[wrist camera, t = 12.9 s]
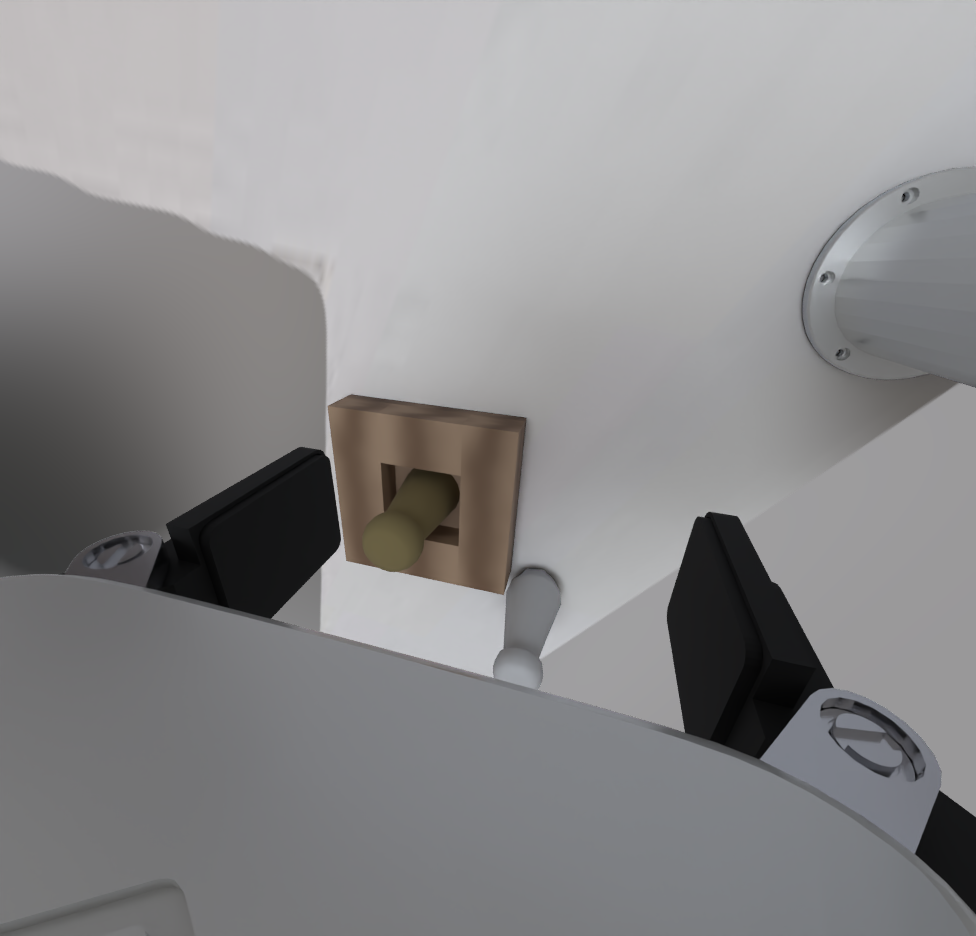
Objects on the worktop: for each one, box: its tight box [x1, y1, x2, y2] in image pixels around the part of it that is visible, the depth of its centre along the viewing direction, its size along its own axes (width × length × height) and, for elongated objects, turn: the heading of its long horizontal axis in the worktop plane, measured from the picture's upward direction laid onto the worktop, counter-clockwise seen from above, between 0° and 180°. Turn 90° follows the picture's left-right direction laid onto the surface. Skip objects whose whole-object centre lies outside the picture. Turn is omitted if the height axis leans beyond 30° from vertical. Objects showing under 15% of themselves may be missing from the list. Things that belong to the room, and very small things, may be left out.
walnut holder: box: [328, 395, 526, 595], centre depth 42 cm, size 18×18×4 cm
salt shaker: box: [493, 569, 561, 690], centre depth 41 cm, size 6×6×13 cm
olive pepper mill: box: [362, 468, 460, 572], centre depth 38 cm, size 6×6×11 cm
